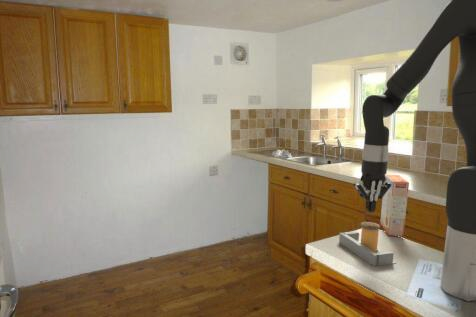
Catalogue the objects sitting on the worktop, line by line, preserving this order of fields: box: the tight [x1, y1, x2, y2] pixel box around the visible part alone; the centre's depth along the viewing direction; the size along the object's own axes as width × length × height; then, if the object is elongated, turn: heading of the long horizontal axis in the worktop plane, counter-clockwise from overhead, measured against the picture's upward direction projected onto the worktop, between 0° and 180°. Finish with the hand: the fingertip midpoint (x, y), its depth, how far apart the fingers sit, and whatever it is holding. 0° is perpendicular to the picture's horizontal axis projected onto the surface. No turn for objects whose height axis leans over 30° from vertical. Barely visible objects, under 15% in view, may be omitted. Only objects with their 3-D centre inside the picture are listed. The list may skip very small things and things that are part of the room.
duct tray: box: [338, 230, 397, 267], centre depth 112 cm, size 19×8×4 cm, turn 16°
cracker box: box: [379, 174, 410, 238], centre depth 132 cm, size 14×6×21 cm, turn 168°
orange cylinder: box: [360, 221, 381, 252], centre depth 112 cm, size 6×6×9 cm
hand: (370, 211), depth 111 cm, fingers closed
